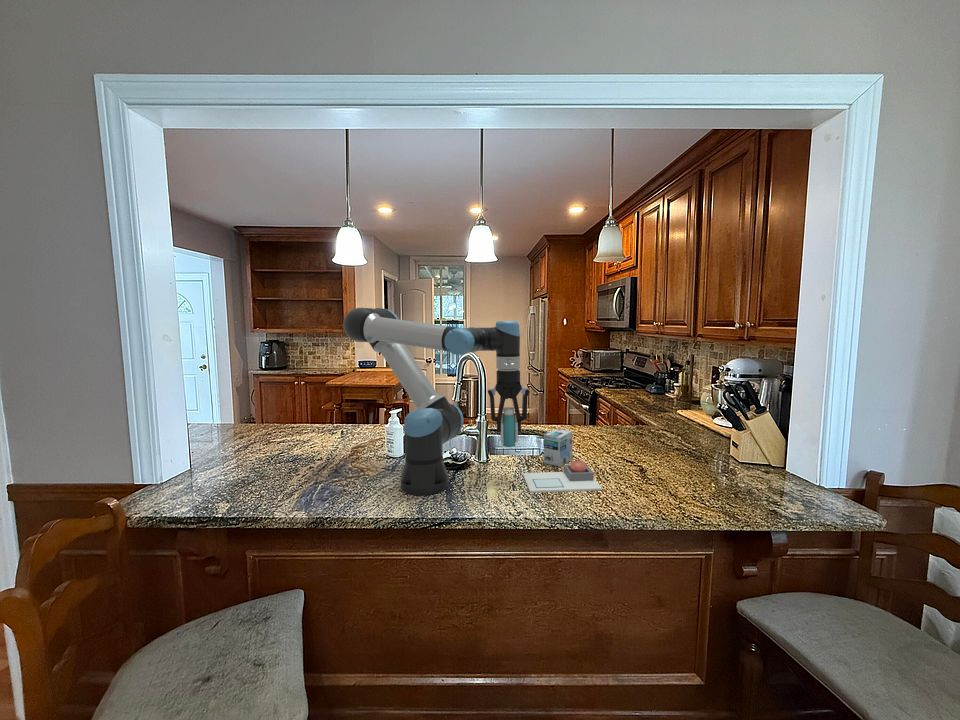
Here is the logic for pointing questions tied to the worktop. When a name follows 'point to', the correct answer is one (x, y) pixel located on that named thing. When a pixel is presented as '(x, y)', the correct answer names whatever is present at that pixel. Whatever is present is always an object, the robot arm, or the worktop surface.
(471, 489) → the worktop surface
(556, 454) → the light bulb box
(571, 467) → the button
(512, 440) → the teal bottle
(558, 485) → the page board
